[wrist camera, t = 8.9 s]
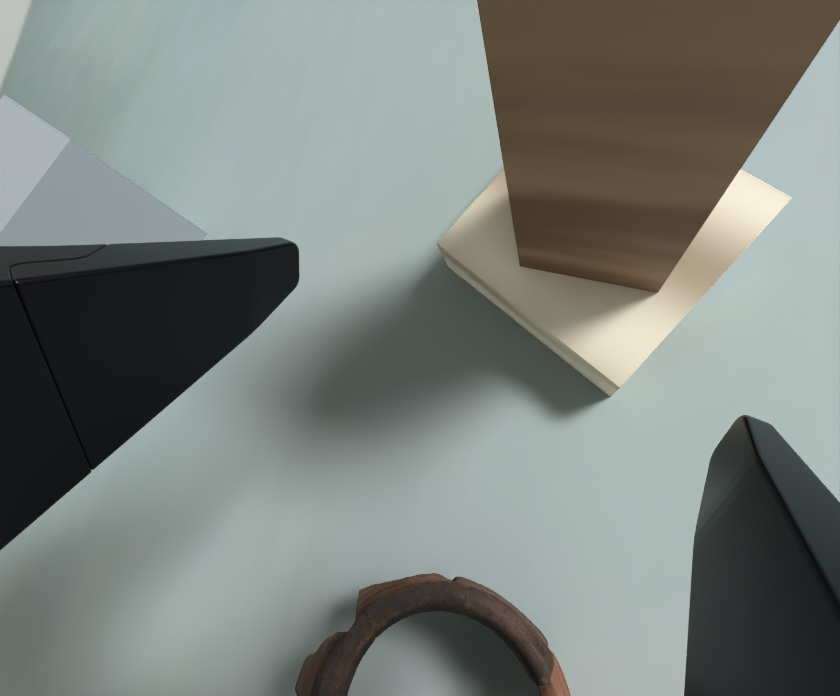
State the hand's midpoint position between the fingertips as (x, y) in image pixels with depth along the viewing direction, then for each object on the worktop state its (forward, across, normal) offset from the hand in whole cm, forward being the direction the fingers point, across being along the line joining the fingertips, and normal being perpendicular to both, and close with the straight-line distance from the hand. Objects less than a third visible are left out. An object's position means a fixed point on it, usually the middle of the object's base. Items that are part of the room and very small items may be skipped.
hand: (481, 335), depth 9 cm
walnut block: (+11, 0, +1) cm, 11 cm away
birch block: (+14, 0, +3) cm, 14 cm away
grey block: (+8, +21, +8) cm, 24 cm away
